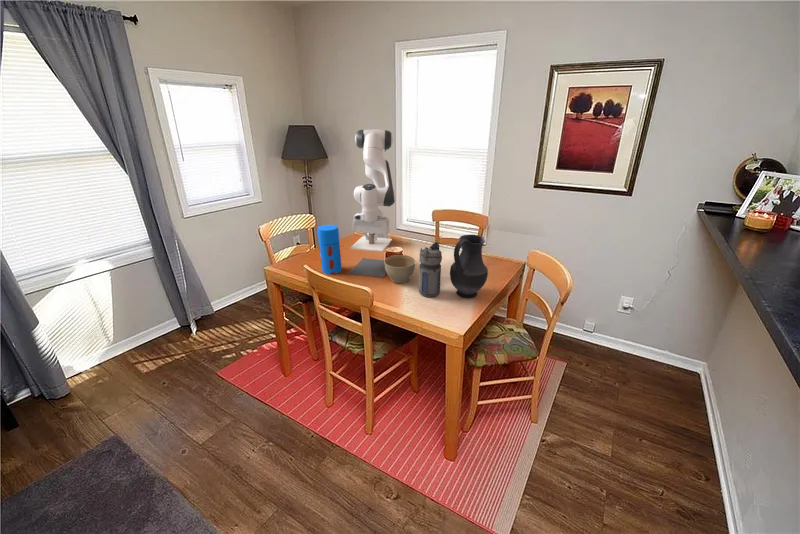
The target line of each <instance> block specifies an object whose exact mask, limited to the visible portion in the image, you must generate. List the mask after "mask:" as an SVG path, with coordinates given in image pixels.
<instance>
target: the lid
mask: <svg viewBox="0 0 800 534" xmlns="http://www.w3.org/2000/svg"><path fill="white" fill-rule="evenodd" d="M392 241H393V239H392V238H391V239H387V238H377V241H374V234H369V240H366V237H364V235H363V236H362V235H361V237H360V238H359V239H358V240H357V241H356V242H355V243H354V244H352V245H351V246H350V250H357V251H365V252H367V251H368V252H378V253H383V252H384V251H385V250H386V248H387V247H389V246H390V244H389V243H392ZM388 245H389V246H388Z"/></svg>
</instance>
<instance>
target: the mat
mask: <svg viewBox="0 0 800 534" xmlns="http://www.w3.org/2000/svg"><path fill="white" fill-rule="evenodd" d="M384 260H385V259H378V258H377V259H375V258H368V257H367V258H364V257H363V258H362V259H361V260H360V261H359V262H358V263H357V264H356V265H355V266H354V267H353V268H352V269H351V270H350V271H349V272H348V275H355V276H363V277H364V276H365V277H373V278H379V279H384V278H385V276H386V275H388V274H387V272H386V269H385V264H384Z"/></svg>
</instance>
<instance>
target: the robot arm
mask: <svg viewBox="0 0 800 534" xmlns="http://www.w3.org/2000/svg"><path fill="white" fill-rule="evenodd" d="M354 142H355V145H356V147H357V148H358V149H362V150H363V151H362V159H363V162H364V171H365V172H364V173H365V176H366V177H367V178H368V179H369V180H371V181H372V182H373V183H366V184H363V185H357V186H356V187H355V188H354V190H353V198H354V199H355V201H356V202H358V204H360V206H361V211H360V212H357V213H355V214H354V215H353V218H352V219H353V221H352V230H353V232H355V233H363V236H364V237H366V240H369V234H374V241H377V238H387V239H392V237H391V236H389V235H388V234H389V233H390V230H391V229H390V219H389V218H388V217H387V216H384V213H383V211H382V210H381V209H380V208H379V207H381V206H382V207H391V206H392V205H394V204H395V202H396V192H395V190H394V187H393V186H394V185H393V177H392V173H391V169H390V164H389V163H390V162H389V161H388V160H387V159H386V158H385V157H384V152H386V151H388V150H389V149H390V148H391V147H392V145H393V142H394V138H393V134H392V132H391V131H390V130H387V129H385V130H384V129H377V128H376V129H358V130H357V132H356V133H355V137H354ZM390 243H391V242H390ZM390 243H389V245H388V246H387V247H389V246H390Z"/></svg>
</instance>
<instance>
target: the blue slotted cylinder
mask: <svg viewBox="0 0 800 534" xmlns="http://www.w3.org/2000/svg"><path fill="white" fill-rule="evenodd" d="M317 237H318V238H317V239H318V246H319V247H318V248H319V255H320V265H321V271H323V272H324V273H323V272H322V273H323V274H325V273H326V274H325V275H335V273H336V274H339V273H340V272H342V257H341V256H342V255H341V245H340V234H339V226H338V225H336V224H323V225H321V226H318V227H317ZM338 272H339V273H338Z"/></svg>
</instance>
